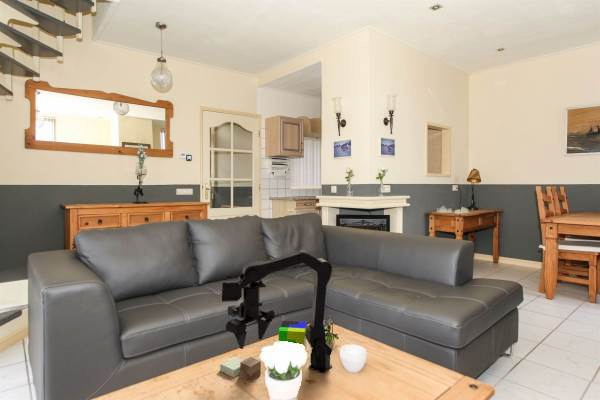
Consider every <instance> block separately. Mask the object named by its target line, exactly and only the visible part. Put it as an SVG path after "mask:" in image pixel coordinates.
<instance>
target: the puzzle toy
mask: <svg viewBox="0 0 600 400" xmlns="http://www.w3.org/2000/svg"><path fill="white" fill-rule="evenodd" d="M306 325H308V323H307V321H294V320H282V321H281V324H280V326H279V329H278V342H279V341H288V342H293V343H299V344H303V345H304V346H305V348H306V347H307V339H306V337H305V332H306V328H305V326H306Z"/></svg>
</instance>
